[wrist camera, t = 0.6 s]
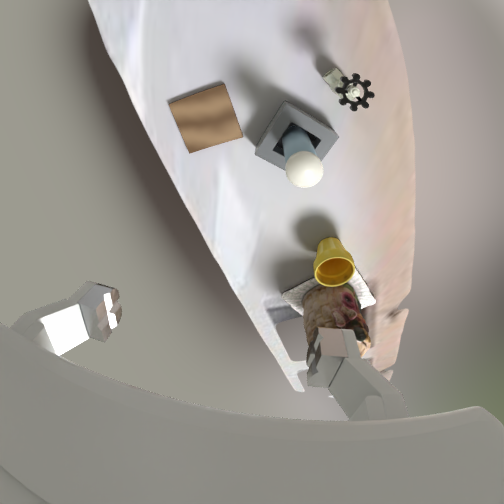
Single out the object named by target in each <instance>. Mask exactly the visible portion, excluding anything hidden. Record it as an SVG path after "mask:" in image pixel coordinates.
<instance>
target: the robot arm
mask: <svg viewBox="0 0 504 504" xmlns="http://www.w3.org/2000/svg"><path fill="white" fill-rule="evenodd" d="M118 299H119V292H118V290H117V289H115V288H113V287H109V286H106V285H102V284H99V283H95V282H92V281H86V282H85V283H84V284H83V285H82V286H81V287H80V288H79V289H78V290H77V291H76V292H75V293H74V294H73V295H72V296H71V297H70V298H69V299H68V300H67V299H64V300H61V301H58V302H55V303H52V304H49V305H46V306H44V307H41V308H38V309H35V310H32V311H29V312H26V313H24V314H23V315H22V316H21V317H20V318H19V319H18V320H17V321H16V322H15V323H14V324H13V325H12V326H11V327H10V328H8V327H7V326H5V325H4V324H2V323H0V504H504V427H503V425H502V424H501V423H500V422H499V421H498V420H497V419H496V418H495V417H494V416H493V415H492V414H490V413H489V412H488V411H487V410H485V409H484V408H482V407H480V406H474V407H469V408H464V409H460V410H455V411H450V412H444V413H439V414H433V415H426V416H418V417H410V418H409V415H408V411H407V408H406V404H405V401H404V397H403V394H402V393H401V392H399V390H397V388H395V387H394V386H393V385H392V384H391V383H390V382H389V381H388V380H387V379H386V378H385V377H384V376H383V375H382V374H380V373H379V372H378V371H377V370H376V369H375V368H374V367H373V366H372V365H371V364H370V363H369V362H367V360H365V359H361V355H360V351H359V347H358V344H357V340H356V337H355V333H354V331H353V330H350V329H335V328H325V327H317V326H316V328H315V330H314V333H313V340H312V341H311V342H310V344H309V347H308V350H307V357H306V363H307V366H308V367H309V369H308V372H307V381H308V382H307V383H308V386H313V387H323V388H328V390H329V391H330V392H331V394H332V395H333V397H334V398H335V399H336V401H337V402H338V404H339V405H340V406H341V408H342V409H343V411H344V412H345V414H346V415H347V416H348V418H349V420H348V421H319V420H301V419H288V418H278V417H269V416H261V415H253V414H246V413H240V412H234V411H227V410H223V409H217V408H213V407H207V406H203V405H199V404H194V403H190V402H186V401H182V400H178V399H174V398H171V397H167V396H163V395H160V394H156V393H153V392H150V391H146V390H143V389H140V388H137V387H134V386H131V385H128V384H126V383H123V382H120V381H117V380H115V379H112V378H109V377H107V376H104V375H102V374H99V373H97V372H94V371H92V370H89V369H87V368H85V367H82V366H80V365H78V364H76V363H73V362H71V361H69V360H67V359H65V358H63V357H61V356H59V355H61V354H63V353H64V352H66V351H68V350H69V349H71V348H73V347H75V346H76V345H78V344H80V343H82V342H83V341H85V340H87V339H88V338H89V337H90V338H93V339H96V340H98V341H102V342H106V340H107V339H108V337H109V336H110V334H111V333H112V330H111V328H113V327H115V326H117V325H118V323H119V321H120V319H121V316H122V309H121V305H120V303H119V302H118V301H117V300H118Z"/></svg>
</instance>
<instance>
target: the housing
mask: <svg viewBox="0 0 504 504" xmlns="http://www.w3.org/2000/svg"><path fill="white" fill-rule="evenodd" d="M290 122H293V123H295V124H296V125H298V126H300V127H301V128H303V129H305V130H306V131H308V132H310V133H311V134H313V135H315V136H316V137H315V139H314V140H313V141H312V145H313V147H314V149H315V152H316V154H317V156H318V158H319V159H320V161H322V160H323V158H324V157H325V156H326V154H327V153H328V152H329V150H330V149H331V147H332V146H333V145H334V143H335V142H336V141H337V139H338V138H339V136H338V135H337V133H336V132H335V131H334V130H333V129H331V128H330V127H328V126H327V125H325V124H323V123H322V122H320V121H319V120H317V119H315V118H314V117H312V116H311V115H309V114H307V113H306V112H304V111H302V110H301V109H299V108H297V107H296V106H294V105H292V104H290V103H289V102H287V101H284V103H283V104H282V106H281V107H280V109H279V110H278V112H277V114H276V115H275V117H274V118H273V120H272V121H271V123H270V125H269V126H268V128H267V130H266V131H265V133H264V134H263V136H262V138H261V139H260V141H259V143H258V144H257V146H256V149H255V155H256V156H258V157H260V158H262V159H264V160H266V161H268V162H270V163H272V164H274V165H276V166H277V167H279V168H281V169H283V170H285V171H286V168H285V167H286V163H285V156H284V150H283V149H282V148H280V147H278V146H276V144H277V142H278V141H279V139H280V138H281V136H282V135H283V133H284V132H285V130H286V128H287V127H288V125H289V124H290Z"/></svg>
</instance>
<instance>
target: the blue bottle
mask: <svg viewBox="0 0 504 504" xmlns="http://www.w3.org/2000/svg"><path fill="white" fill-rule="evenodd" d="M282 143H283V150H284V156H285V163H286V167H285V168H286V175H287V178H288V180H289V181H290V182H291V183H292V184H294V185H295V186H298V187H303V188H306V187H311V186H313V185H315V184H317V183H318V182H319V181H320V179H321V178H322V175H323V165H322V163H321V161H320V159H319V158H318V156H317V154H316V152H315V149H314V147H313V145H312V143H311V141H310V138H309V136H308V134H307V132H306V131H305V130H304V129H303V128H301V127H299V126H290V127H288V128H287V129H286V130H285V132H284V133H283V135H282Z"/></svg>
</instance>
